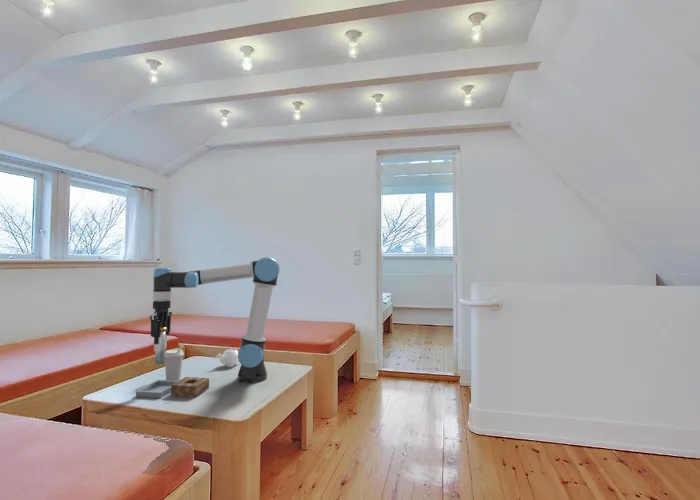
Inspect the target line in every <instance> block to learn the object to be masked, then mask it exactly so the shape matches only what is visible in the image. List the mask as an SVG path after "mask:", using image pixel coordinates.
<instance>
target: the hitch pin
mask: <svg viewBox="0 0 700 500" xmlns="http://www.w3.org/2000/svg"><path fill="white" fill-rule="evenodd" d="M166 330H167V327H161V330H160V336H159V337H161V347H160V351H154V352H155V354H154V355H155V358H154V359H155V360H154V365H156V366H160V365H165V352H166V349H165V333H166Z"/></svg>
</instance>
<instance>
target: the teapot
mask: <svg viewBox="0 0 700 500" xmlns="http://www.w3.org/2000/svg"><path fill="white" fill-rule="evenodd" d="M238 352H239V350H237V349H236V348H228V349H226V350H225V351H224V352H223V353H218V354H217V356H216V357H215V359H218V358H219V361H220V363H221V364H223V365H224V366H226V367H227V368H232V367H235V365H236V363H238V362H239V359H238Z"/></svg>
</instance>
